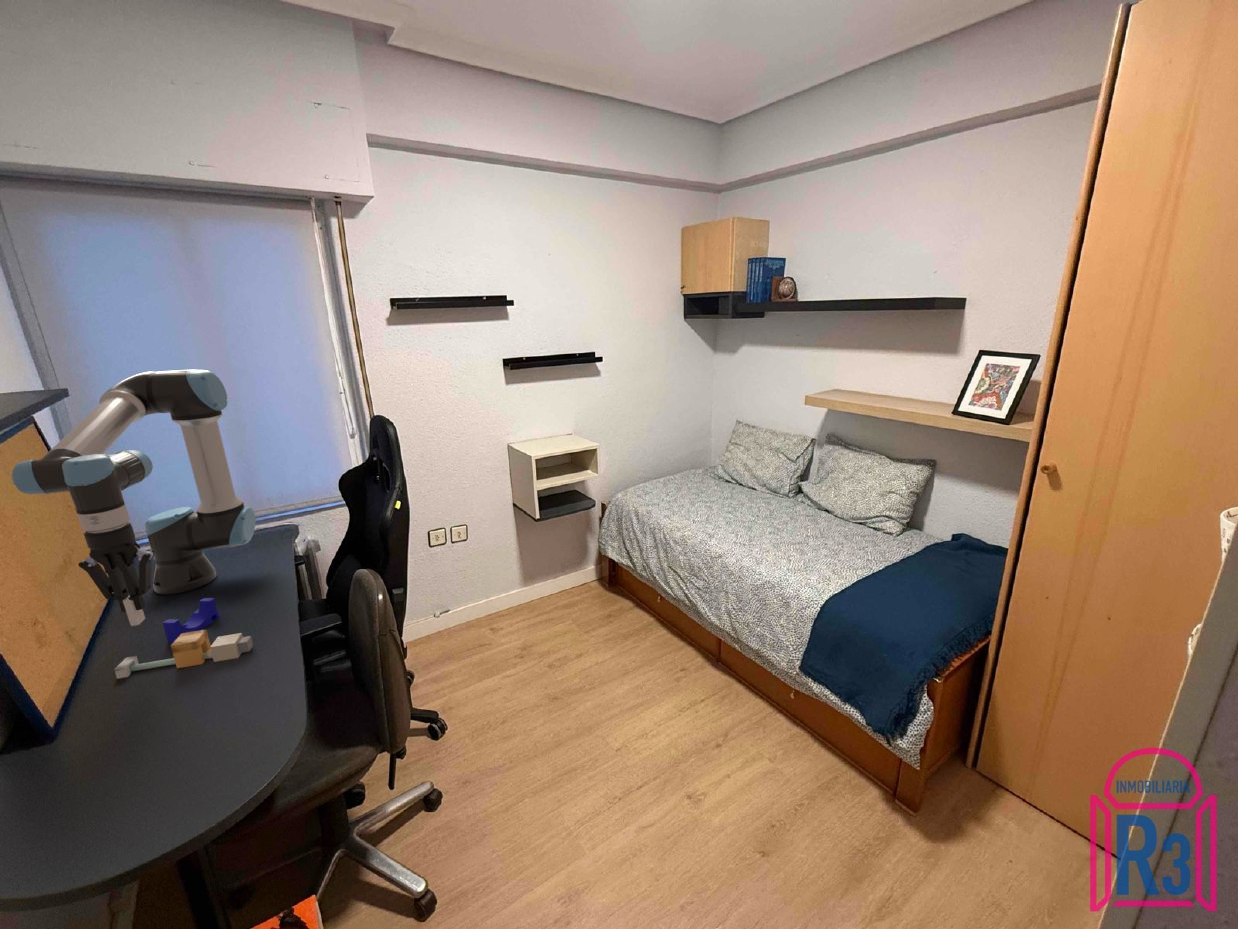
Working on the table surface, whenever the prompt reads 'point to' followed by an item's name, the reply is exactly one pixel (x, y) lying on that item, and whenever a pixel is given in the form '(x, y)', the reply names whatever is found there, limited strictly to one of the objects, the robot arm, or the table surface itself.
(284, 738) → the table surface
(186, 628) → the cable clip
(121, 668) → the cord run
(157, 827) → the table surface
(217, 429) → the robot arm
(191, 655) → the sleeve
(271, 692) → the table surface
